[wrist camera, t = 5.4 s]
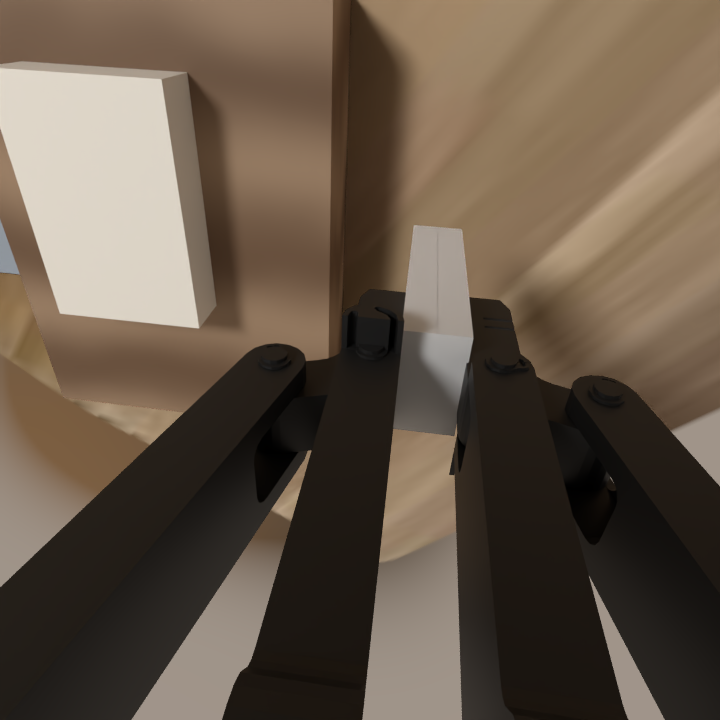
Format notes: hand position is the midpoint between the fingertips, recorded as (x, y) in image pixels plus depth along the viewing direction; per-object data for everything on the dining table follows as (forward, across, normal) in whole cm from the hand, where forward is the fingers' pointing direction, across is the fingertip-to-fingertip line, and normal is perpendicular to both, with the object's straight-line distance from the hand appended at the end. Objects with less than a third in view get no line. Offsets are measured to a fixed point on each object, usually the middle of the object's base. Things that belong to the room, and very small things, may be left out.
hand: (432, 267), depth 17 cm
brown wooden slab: (+8, -11, -2) cm, 13 cm away
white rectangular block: (+4, -12, 0) cm, 13 cm away
